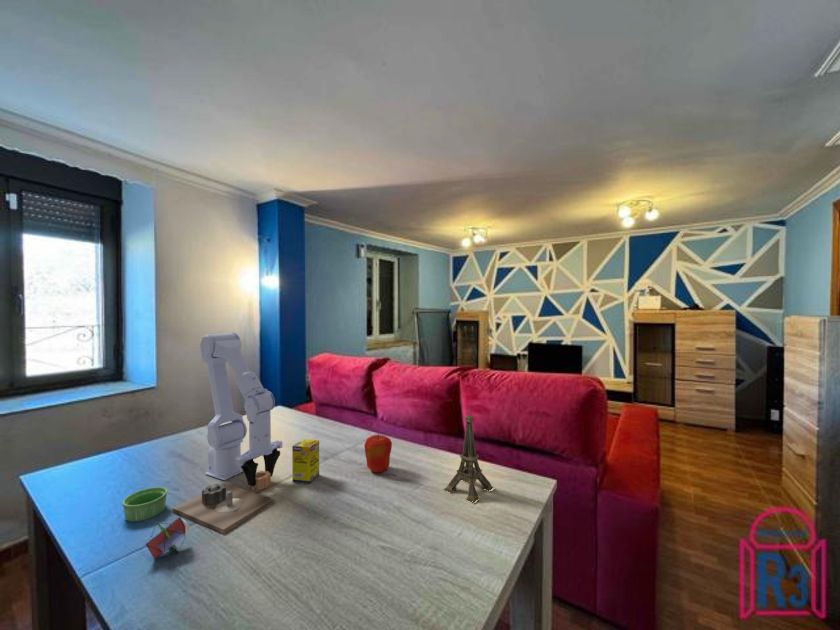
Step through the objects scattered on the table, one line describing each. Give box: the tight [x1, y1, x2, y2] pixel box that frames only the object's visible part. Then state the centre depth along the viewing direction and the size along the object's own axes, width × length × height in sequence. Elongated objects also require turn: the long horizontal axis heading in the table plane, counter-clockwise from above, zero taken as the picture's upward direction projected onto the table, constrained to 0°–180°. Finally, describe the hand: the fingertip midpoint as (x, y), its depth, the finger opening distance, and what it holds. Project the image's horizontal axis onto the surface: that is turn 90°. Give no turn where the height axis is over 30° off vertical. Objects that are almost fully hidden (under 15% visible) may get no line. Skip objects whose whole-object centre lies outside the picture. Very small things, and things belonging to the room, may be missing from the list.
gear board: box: [171, 482, 274, 535], centre depth 90 cm, size 20×14×4 cm
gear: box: [249, 470, 272, 491], centre depth 101 cm, size 5×5×3 cm
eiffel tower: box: [442, 407, 494, 505], centre depth 98 cm, size 11×11×25 cm
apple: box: [364, 433, 393, 474], centre depth 110 cm, size 9×8×12 cm
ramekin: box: [122, 486, 169, 522], centre depth 88 cm, size 9×9×4 cm
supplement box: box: [291, 438, 320, 484], centre depth 105 cm, size 6×6×11 cm
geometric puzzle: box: [145, 516, 191, 560], centre depth 73 cm, size 7×7×8 cm
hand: (260, 480), depth 101 cm, fingers closed on gear, 5 cm apart
